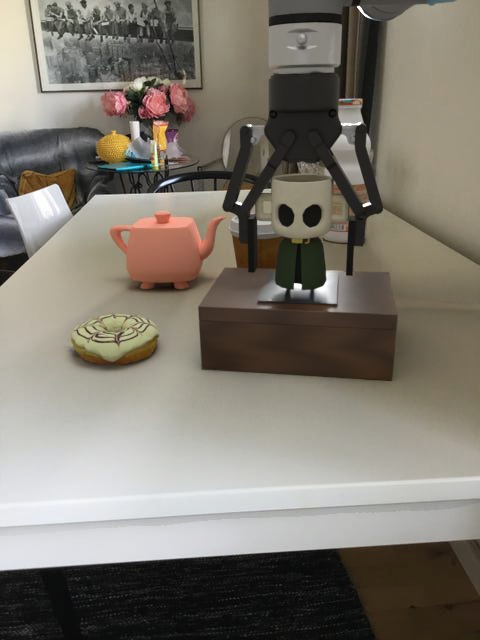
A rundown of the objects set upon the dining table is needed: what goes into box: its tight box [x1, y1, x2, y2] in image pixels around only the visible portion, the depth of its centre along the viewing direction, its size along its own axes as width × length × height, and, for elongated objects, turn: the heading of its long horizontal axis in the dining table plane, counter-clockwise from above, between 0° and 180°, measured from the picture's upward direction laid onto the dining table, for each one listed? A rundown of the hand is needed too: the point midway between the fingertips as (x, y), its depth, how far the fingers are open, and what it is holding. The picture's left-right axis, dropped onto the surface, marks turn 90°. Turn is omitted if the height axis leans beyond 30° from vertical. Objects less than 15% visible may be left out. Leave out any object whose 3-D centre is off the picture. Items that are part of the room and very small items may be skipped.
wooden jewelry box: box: [197, 266, 399, 381], centre depth 71 cm, size 22×15×8 cm
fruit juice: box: [321, 98, 372, 244], centre depth 117 cm, size 9×9×28 cm
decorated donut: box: [70, 312, 161, 366], centre depth 72 cm, size 10×11×4 cm
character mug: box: [254, 172, 350, 290], centre depth 66 cm, size 11×7×13 cm, turn 79°
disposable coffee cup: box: [228, 212, 284, 269], centre depth 89 cm, size 10×10×12 cm
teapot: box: [109, 210, 228, 290], centre depth 96 cm, size 20×12×12 cm, turn 86°
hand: (300, 270), depth 68 cm, fingers closed on character mug, 11 cm apart
